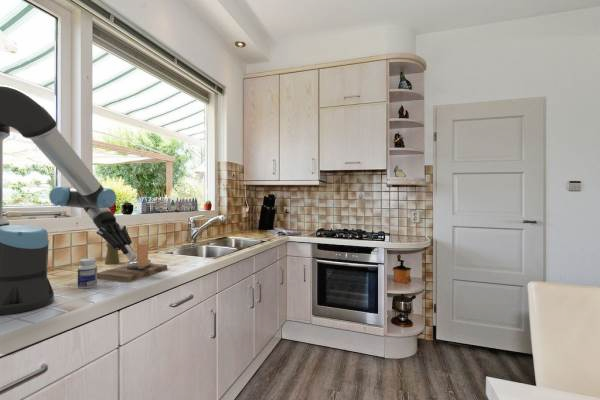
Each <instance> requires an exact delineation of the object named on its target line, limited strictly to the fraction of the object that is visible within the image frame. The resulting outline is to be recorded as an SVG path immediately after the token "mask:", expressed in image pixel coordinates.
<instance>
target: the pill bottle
mask: <svg viewBox="0 0 600 400" xmlns="http://www.w3.org/2000/svg"><path fill="white" fill-rule="evenodd" d="M96 260H97V259H96V258H95V257H88V258H82V259H80V260H79V264H80V265H79V266H78V267H77V288H78V289H82V290H84V289H92V288H94V287H96V286H97V285H98V279H97V273H98V265H97V264H96V262H97V261H96Z"/></svg>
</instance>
